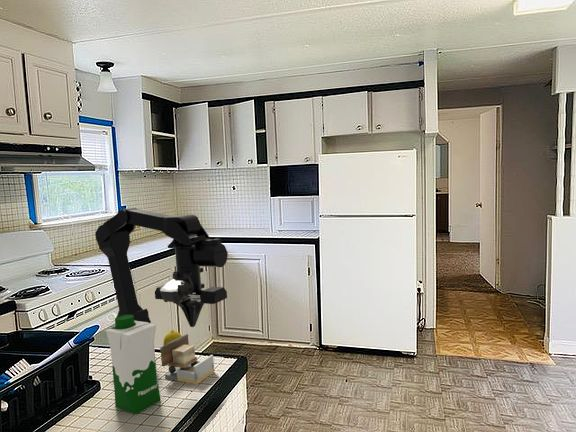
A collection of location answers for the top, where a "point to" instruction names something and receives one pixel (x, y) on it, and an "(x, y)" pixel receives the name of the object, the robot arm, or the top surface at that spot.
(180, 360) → the trolley
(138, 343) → the milk carton
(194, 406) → the top surface
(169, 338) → the lemon
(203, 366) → the dock
